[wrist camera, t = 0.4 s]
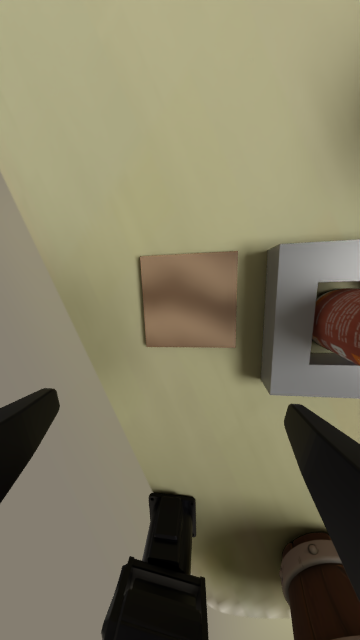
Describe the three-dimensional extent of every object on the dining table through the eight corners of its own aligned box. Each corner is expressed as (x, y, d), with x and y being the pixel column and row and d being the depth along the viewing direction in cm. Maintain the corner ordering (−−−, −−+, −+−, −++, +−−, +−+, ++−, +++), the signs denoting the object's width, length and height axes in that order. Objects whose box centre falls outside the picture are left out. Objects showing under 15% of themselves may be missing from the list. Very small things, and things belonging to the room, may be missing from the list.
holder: (400, 383, 19) (436, 401, 16) (260, 379, 21) (270, 394, 18) (431, 241, 17) (479, 232, 14) (267, 250, 18) (280, 244, 15)
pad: (234, 345, 21) (235, 347, 20) (148, 345, 22) (146, 346, 21) (236, 252, 19) (237, 251, 18) (141, 257, 20) (140, 256, 19)
